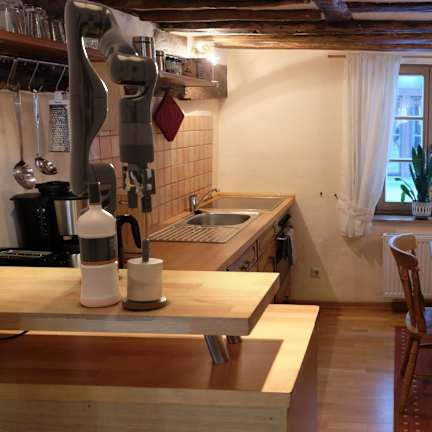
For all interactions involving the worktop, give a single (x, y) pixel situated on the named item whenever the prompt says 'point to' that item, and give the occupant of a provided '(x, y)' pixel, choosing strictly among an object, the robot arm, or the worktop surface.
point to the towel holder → (144, 281)
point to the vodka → (98, 254)
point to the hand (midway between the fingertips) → (139, 210)
